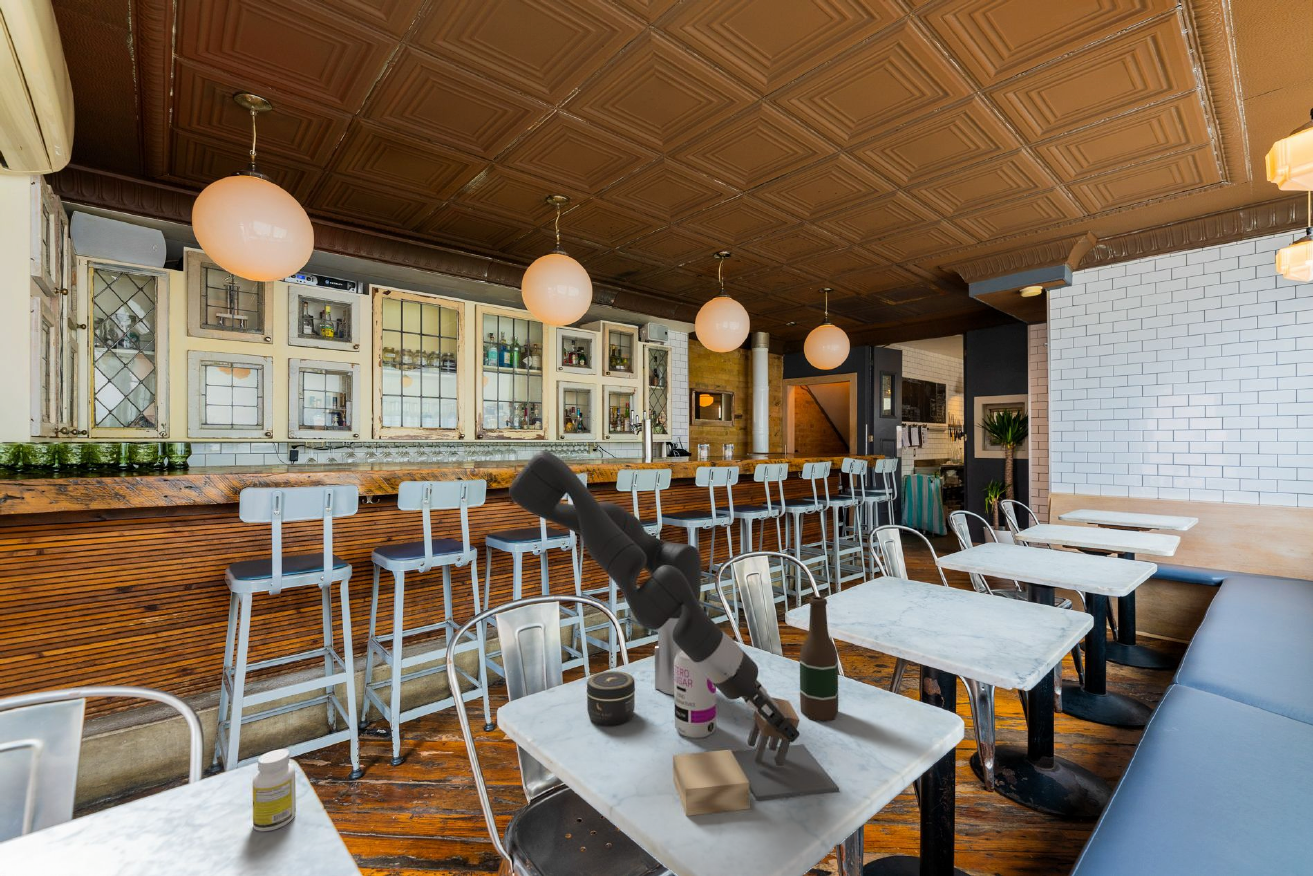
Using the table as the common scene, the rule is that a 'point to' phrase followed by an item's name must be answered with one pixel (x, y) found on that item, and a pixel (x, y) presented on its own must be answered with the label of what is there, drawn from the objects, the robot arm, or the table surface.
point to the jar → (610, 698)
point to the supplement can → (693, 699)
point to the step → (710, 782)
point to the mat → (784, 773)
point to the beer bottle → (818, 667)
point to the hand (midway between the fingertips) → (787, 727)
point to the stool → (772, 733)
